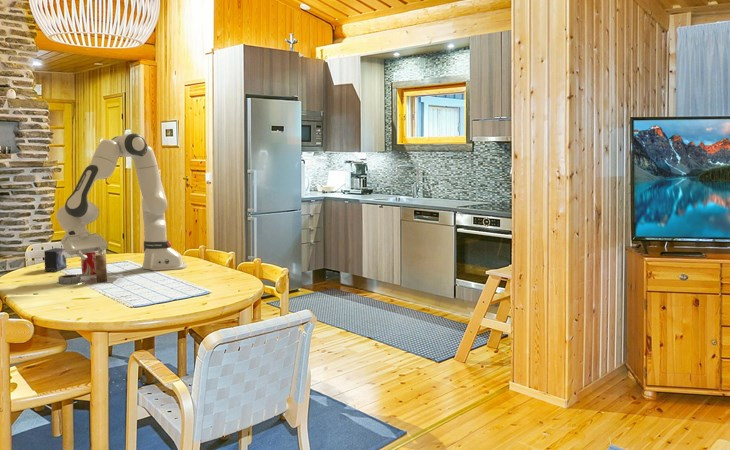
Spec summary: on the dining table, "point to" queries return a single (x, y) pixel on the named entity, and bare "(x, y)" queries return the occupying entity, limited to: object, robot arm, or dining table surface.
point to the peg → (101, 268)
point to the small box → (55, 259)
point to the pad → (94, 281)
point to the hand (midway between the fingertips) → (94, 257)
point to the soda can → (89, 264)
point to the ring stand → (69, 280)
